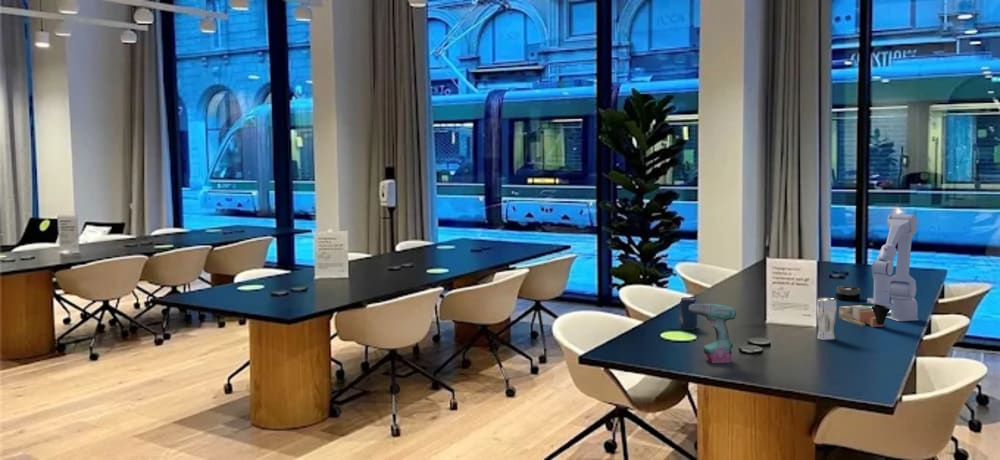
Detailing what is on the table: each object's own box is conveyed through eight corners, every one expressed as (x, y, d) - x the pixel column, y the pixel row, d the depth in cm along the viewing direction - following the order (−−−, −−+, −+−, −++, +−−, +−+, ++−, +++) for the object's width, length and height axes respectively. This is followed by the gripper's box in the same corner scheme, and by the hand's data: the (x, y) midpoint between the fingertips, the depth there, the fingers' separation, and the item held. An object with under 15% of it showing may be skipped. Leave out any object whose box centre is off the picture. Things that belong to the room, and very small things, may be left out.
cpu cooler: (861, 289, 369) (838, 289, 371) (861, 301, 370) (838, 301, 372) (857, 285, 379) (834, 285, 381) (856, 297, 380) (834, 297, 382)
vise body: (861, 316, 337) (861, 305, 337) (885, 324, 322) (885, 312, 322) (838, 318, 335) (839, 306, 335) (862, 326, 320) (862, 314, 320)
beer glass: (835, 336, 304) (836, 298, 302) (836, 341, 297) (837, 301, 296) (815, 335, 306) (816, 297, 305) (816, 339, 300) (817, 300, 298)
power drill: (685, 358, 277) (685, 302, 275) (731, 356, 278) (731, 300, 276) (692, 364, 269) (692, 306, 267) (739, 362, 271) (739, 304, 269)
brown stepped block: (873, 321, 327) (874, 310, 326) (886, 326, 319) (886, 314, 319) (857, 322, 325) (857, 311, 325) (870, 327, 318) (870, 315, 317)
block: (865, 320, 331) (865, 306, 330) (871, 322, 327) (872, 308, 326) (852, 321, 329) (852, 306, 329) (858, 323, 326) (858, 308, 325)
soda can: (700, 327, 323) (700, 298, 322) (691, 330, 318) (691, 300, 317) (685, 325, 328) (685, 296, 327) (676, 328, 323) (676, 298, 322)
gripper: (860, 287, 322) (859, 321, 323) (884, 294, 308) (883, 328, 309) (876, 287, 323) (875, 319, 325) (901, 293, 309) (899, 327, 311)
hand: (880, 324), depth 317 cm, fingers closed
